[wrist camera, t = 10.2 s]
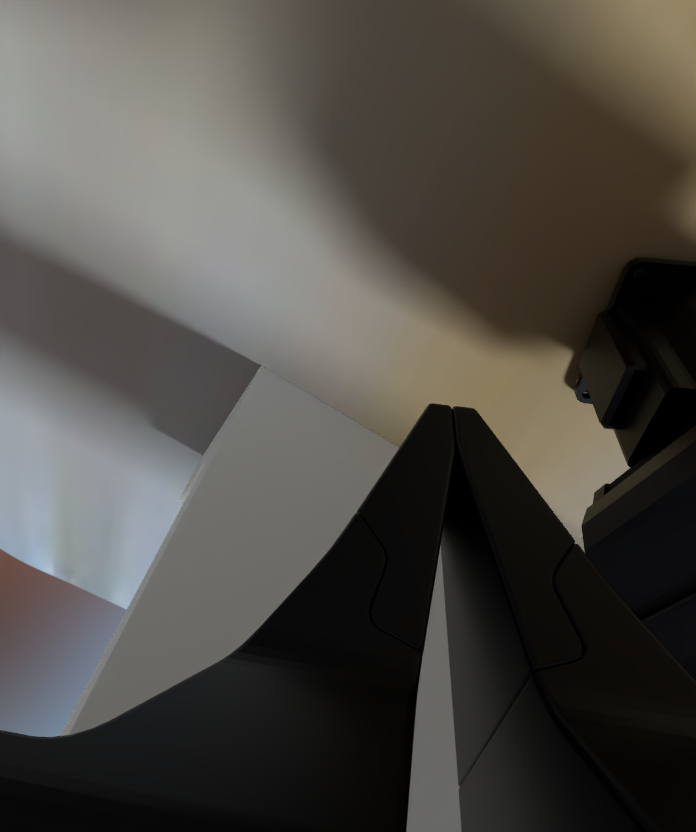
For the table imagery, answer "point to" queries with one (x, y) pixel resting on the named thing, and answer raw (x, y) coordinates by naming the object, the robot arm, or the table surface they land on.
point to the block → (267, 570)
